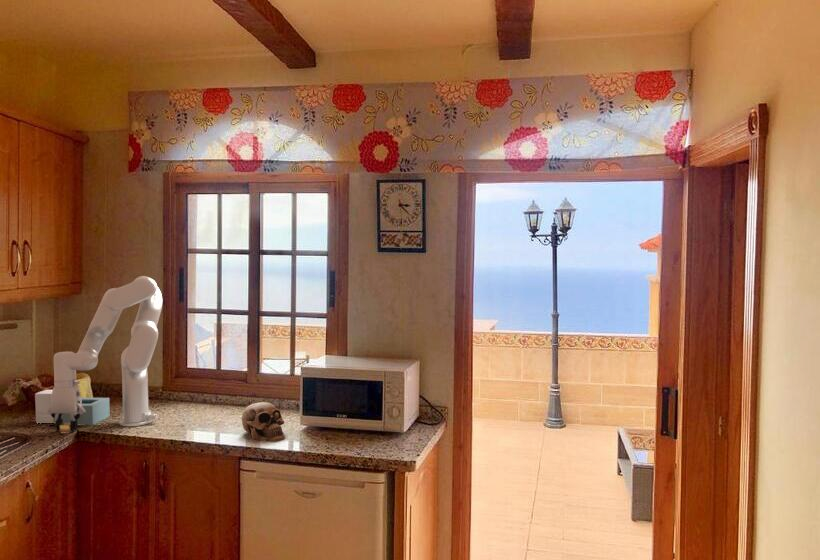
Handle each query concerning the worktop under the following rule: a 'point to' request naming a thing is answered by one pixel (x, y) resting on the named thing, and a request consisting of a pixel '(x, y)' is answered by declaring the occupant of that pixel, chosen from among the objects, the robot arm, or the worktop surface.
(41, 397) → the supplement box
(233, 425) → the worktop surface
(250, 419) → the brown skull
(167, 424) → the worktop surface
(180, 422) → the worktop surface
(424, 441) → the worktop surface
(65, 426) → the yellow block
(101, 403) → the box
